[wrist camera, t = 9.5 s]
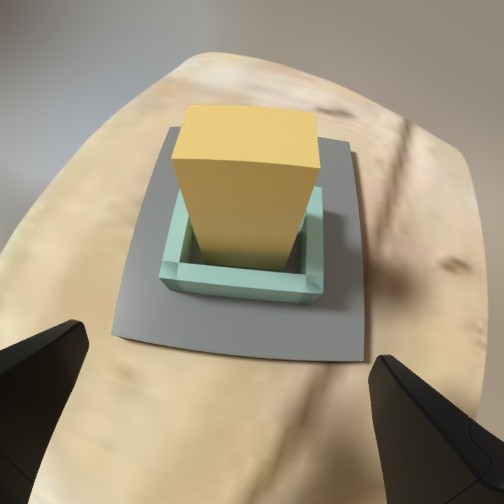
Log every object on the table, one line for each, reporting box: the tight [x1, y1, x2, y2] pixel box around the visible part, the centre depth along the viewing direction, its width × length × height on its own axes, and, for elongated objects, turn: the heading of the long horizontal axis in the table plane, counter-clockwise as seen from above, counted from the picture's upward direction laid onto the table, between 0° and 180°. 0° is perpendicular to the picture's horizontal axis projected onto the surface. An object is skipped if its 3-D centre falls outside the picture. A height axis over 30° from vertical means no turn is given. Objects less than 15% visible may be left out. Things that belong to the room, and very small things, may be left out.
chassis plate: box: [111, 127, 364, 361], centre depth 19 cm, size 18×16×4 cm
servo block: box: [171, 105, 320, 270], centre depth 14 cm, size 3×5×10 cm, turn 86°
